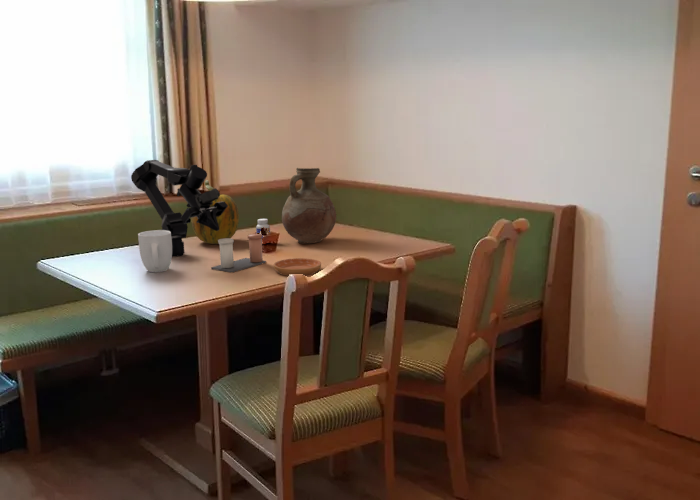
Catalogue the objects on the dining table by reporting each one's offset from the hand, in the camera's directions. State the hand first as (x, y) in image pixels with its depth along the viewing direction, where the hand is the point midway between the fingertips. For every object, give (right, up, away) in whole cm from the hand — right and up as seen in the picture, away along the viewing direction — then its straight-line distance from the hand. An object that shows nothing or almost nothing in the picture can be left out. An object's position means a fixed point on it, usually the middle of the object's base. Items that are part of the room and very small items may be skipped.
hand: (218, 230), depth 259 cm
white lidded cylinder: (+4, -14, -6) cm, 15 cm away
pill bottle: (+12, -5, +36) cm, 38 cm away
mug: (-20, -14, -6) cm, 25 cm away
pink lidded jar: (+13, -12, +1) cm, 18 cm away
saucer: (+29, -15, -11) cm, 34 cm away
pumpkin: (-8, -4, +39) cm, 40 cm away
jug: (+30, -4, +36) cm, 47 cm away
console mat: (+8, -12, -2) cm, 15 cm away
